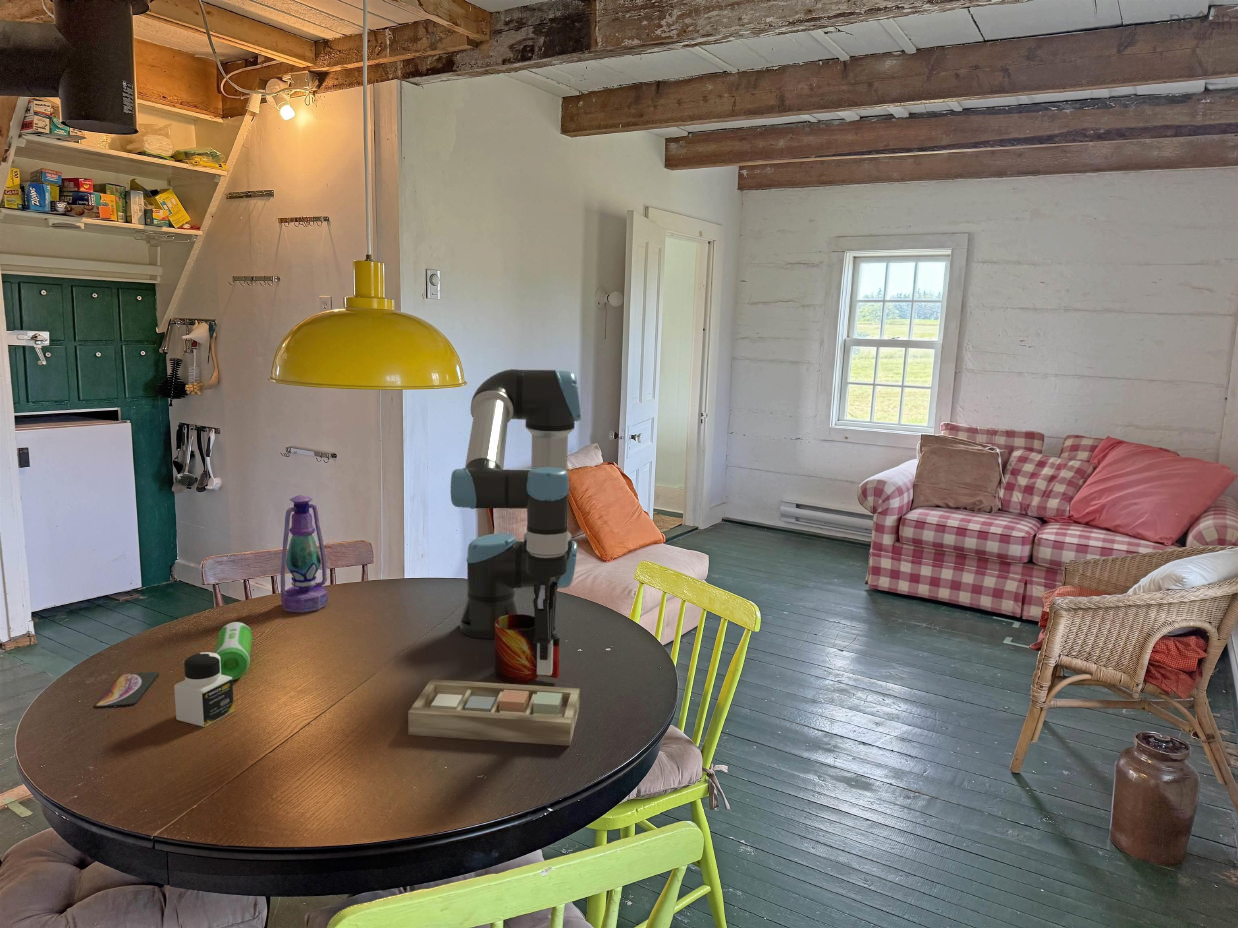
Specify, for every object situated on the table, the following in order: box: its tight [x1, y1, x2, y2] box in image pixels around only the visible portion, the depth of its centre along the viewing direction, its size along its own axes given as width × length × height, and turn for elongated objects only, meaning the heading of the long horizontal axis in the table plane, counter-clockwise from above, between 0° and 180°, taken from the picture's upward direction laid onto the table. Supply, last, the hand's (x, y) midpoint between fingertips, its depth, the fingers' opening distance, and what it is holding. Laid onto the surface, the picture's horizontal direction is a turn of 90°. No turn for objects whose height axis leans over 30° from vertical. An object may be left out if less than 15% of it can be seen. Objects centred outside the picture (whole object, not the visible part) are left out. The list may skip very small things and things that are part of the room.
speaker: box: [213, 621, 254, 681], centre depth 175 cm, size 18×7×8 cm, turn 22°
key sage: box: [533, 692, 562, 715], centre depth 154 cm, size 5×5×2 cm
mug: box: [494, 613, 560, 685], centre depth 176 cm, size 10×14×12 cm
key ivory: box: [431, 694, 463, 710], centre depth 156 cm, size 5×5×2 cm
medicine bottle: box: [174, 651, 235, 728], centre depth 153 cm, size 7×7×12 cm
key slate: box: [465, 696, 496, 712], centre depth 155 cm, size 5×5×2 cm
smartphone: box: [93, 671, 160, 709], centre depth 163 cm, size 8×1×15 cm
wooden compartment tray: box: [407, 678, 581, 747], centre depth 155 cm, size 14×30×4 cm, turn 86°
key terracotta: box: [499, 690, 529, 713], centre depth 154 cm, size 5×5×2 cm
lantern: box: [280, 494, 329, 614], centre depth 210 cm, size 13×12×30 cm
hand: (544, 673), depth 153 cm, fingers closed
